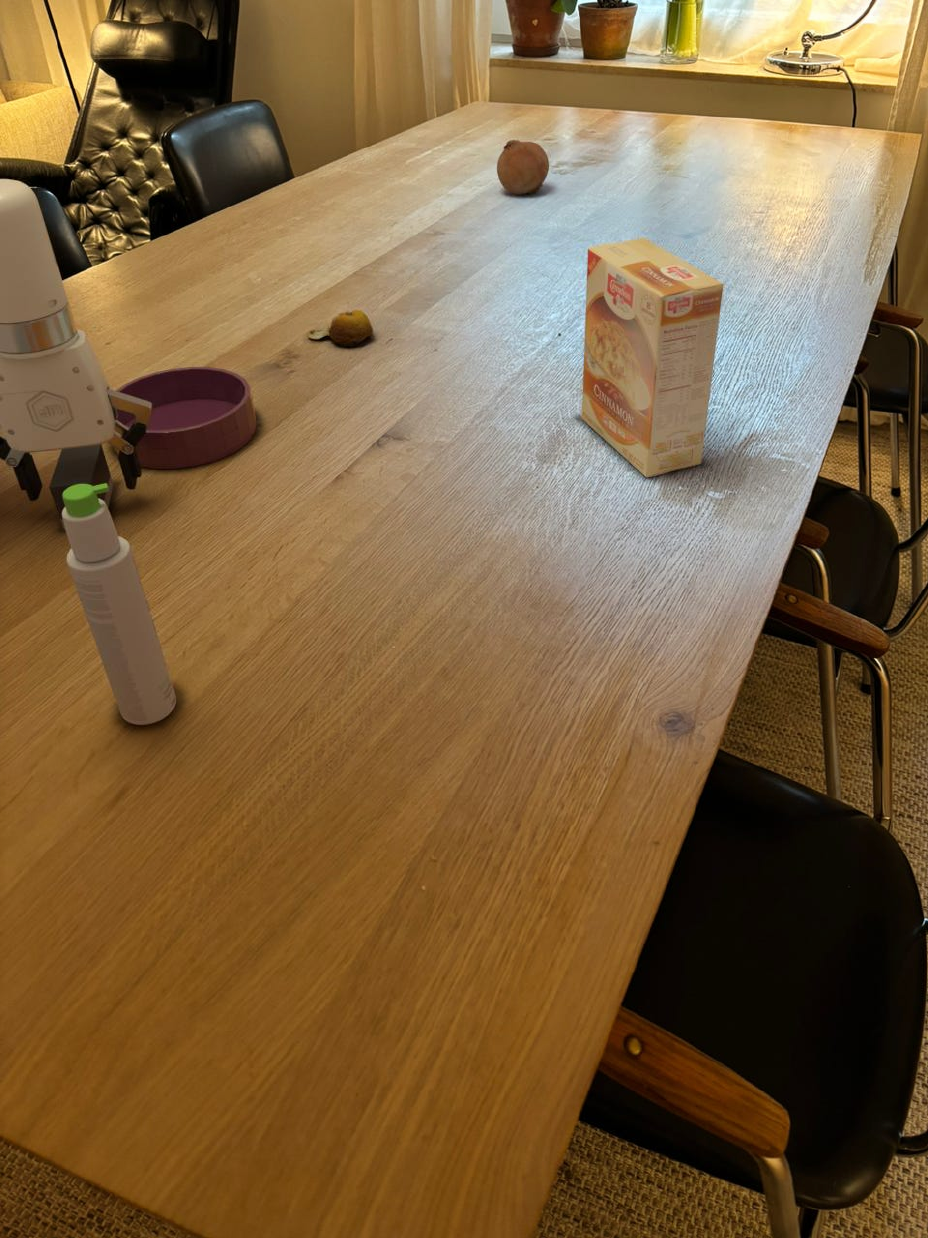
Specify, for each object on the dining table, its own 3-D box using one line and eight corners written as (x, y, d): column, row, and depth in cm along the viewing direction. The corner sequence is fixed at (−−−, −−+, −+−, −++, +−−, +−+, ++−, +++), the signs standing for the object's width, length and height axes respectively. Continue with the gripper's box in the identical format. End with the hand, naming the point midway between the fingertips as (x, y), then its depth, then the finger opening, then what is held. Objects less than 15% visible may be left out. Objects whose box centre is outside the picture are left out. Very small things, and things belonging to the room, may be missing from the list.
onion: (502, 210, 184) (477, 158, 180) (536, 184, 187) (512, 133, 183) (533, 201, 177) (507, 147, 172) (568, 175, 180) (544, 120, 175)
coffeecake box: (578, 418, 114) (585, 246, 101) (633, 405, 116) (646, 235, 103) (644, 479, 103) (660, 294, 91) (703, 464, 105) (727, 281, 92)
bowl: (105, 476, 108) (94, 439, 105) (122, 408, 120) (112, 374, 117) (256, 460, 109) (248, 423, 106) (257, 395, 122) (251, 360, 119)
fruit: (353, 319, 139) (350, 293, 136) (389, 336, 134) (387, 309, 131) (304, 337, 135) (300, 310, 132) (339, 355, 130) (336, 328, 127)
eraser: (63, 529, 100) (48, 487, 96) (75, 488, 106) (61, 447, 103) (104, 525, 100) (90, 482, 97) (113, 484, 106) (101, 443, 103)
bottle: (172, 723, 77) (104, 506, 65) (115, 728, 77) (36, 511, 65) (180, 685, 81) (117, 472, 68) (126, 689, 81) (52, 476, 68)
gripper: (-78, 354, 87) (-10, 518, 98) (123, 333, 89) (167, 497, 99) (-56, 321, 93) (5, 480, 104) (132, 302, 94) (173, 460, 105)
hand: (85, 488), depth 101 cm, fingers open, 9 cm apart
